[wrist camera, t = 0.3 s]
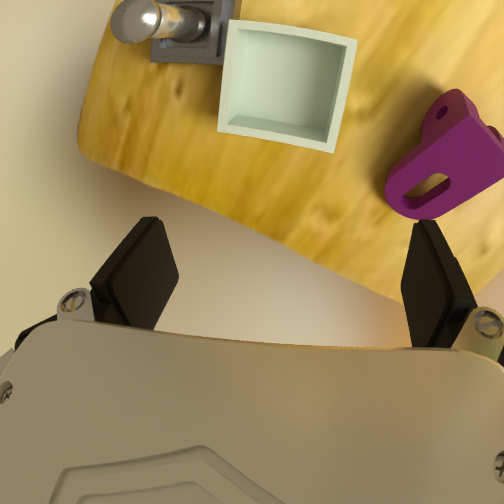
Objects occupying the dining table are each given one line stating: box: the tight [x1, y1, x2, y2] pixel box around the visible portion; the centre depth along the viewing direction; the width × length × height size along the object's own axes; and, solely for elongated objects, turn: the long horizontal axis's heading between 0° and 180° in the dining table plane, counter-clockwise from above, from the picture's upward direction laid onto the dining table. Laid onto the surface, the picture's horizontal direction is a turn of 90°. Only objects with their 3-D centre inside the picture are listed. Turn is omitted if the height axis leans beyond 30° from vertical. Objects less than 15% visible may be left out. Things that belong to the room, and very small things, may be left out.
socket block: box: [150, 0, 242, 65], centre depth 29 cm, size 10×10×4 cm
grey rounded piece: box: [111, 0, 210, 43], centre depth 23 cm, size 5×5×13 cm
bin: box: [217, 19, 358, 154], centre depth 31 cm, size 13×13×6 cm
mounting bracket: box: [385, 89, 504, 220], centre depth 33 cm, size 10×8×18 cm
